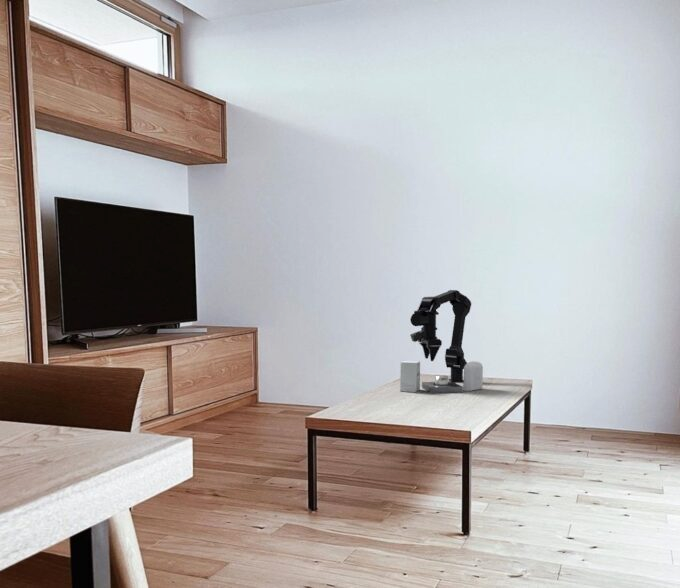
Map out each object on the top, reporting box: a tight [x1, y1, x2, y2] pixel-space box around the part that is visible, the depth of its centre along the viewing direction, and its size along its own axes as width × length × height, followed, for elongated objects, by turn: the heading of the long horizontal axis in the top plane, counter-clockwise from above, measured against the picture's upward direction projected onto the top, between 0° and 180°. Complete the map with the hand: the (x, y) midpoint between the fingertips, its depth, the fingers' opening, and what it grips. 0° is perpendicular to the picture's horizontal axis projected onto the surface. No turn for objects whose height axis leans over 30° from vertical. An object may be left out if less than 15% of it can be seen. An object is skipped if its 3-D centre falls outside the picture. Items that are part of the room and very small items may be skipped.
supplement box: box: [399, 360, 421, 393], centre depth 294 cm, size 7×7×13 cm
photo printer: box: [462, 360, 484, 392], centre depth 297 cm, size 10×4×12 cm, turn 134°
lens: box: [434, 374, 449, 386], centre depth 296 cm, size 6×6×6 cm
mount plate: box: [421, 381, 463, 394], centre depth 296 cm, size 14×14×2 cm
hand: (429, 359), depth 306 cm, fingers open, 9 cm apart
